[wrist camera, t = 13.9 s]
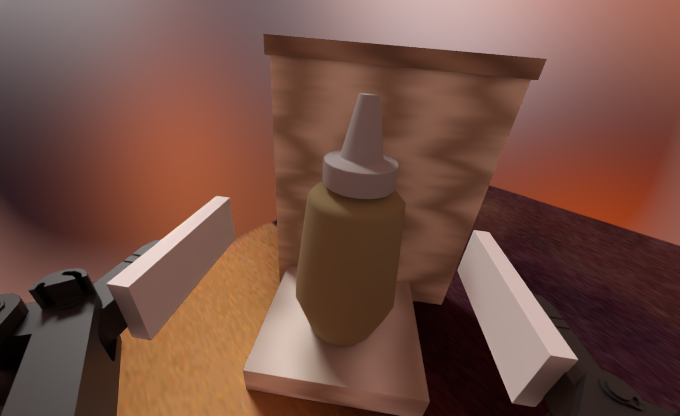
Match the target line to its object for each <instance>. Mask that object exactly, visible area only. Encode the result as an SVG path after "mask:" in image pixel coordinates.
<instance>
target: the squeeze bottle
mask: <svg viewBox="0 0 680 416" xmlns="http://www.w3.org/2000/svg"><path fill="white" fill-rule="evenodd" d="M398 169H399V164H398V163H397V162H396V161H395V160H394V159H393V158H391V157H389V156H387V155H385V154H383V135H382V115H381V96H380V95H375V94H366V93H360V94H359V96H358V99H357V102H356V105H355V109H354V112H353V115H352V118H351V121H350V125H349V128H348V131H347V134H346V138H345V141H344V144H343V147H342V150H335V151H332V152H329V153H328V154H327V155H326V156H325V157H324V160H323V181H322V182H320V183H318V184H317V185H315V186H314V187H313V188H312V189H311V190H310V191H309V193H308V196H307V203H306V211H305V218H304V226H303V233H302V240H301V248H300V255H299V263H298V270H297V277H296V298H297V300H298V302H299V304H300V306H301V308H302V310H303V312H304V314H305V316H306V318H307V320H308V322H309V324H310V326H311V328H312V330H313V332H314V333H315V334H316V335H317V336H318V337H319V338H321V339H322V340H323V341H324V342H326V343H329V344H332V345H336V346H339V347H343V346H354V345H356V344H358V343H360V342H362V341H364V340H366V339H367V338H368V337H369V336H370V335H371V334H372V332H373V331H374V330H375V329H376V328H377V327H378V326H379V325H380V324H381V323H382V322H383V321H384V319H385V318H386V317H387V315H388V314H389V312H390V311H391V310H392V308H393V307H394V299H395V290H396V282H397V274H398V266H399V257H400V249H401V241H402V232H403V224H404V216H405V205H406V203H405V202H404V200H403V199H402V198H401V196H400V195H399V194H398V193H397V192H396V191H395V184H396V179H397V174H398Z"/></svg>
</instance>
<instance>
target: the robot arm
mask: <svg viewBox="0 0 680 416" xmlns="http://www.w3.org/2000/svg"><path fill="white" fill-rule="evenodd" d="M234 240H235V232H234V225H233V217H232V210H231V203H230V198H228V197H220V196H216V197H215V198H213V199H212V200H211V201H210V202H209V203H207V204H206V205H205V206H203V207H202V208H201V209H199V211H197V212H196V213H194V214H193V215H192V216H191V217H189V218H188V219H187V220H186V221H184V222H183V223H182V224H181V225H179V226H178V227H177V228H176V229H174V230H173V231H172V232H171V233H169V234H168V235H167V236H166V237H164V238H163V239H162V240H155V241H153V242H151V243H149V244H146V245H144V246H143V247H141V248H140V249H139V250H137V251H136V252H135V253H133V255H131V256H129V257H128V258H127V259H125V260H124V262H121V263H120V264H119V265H118V266H116V267H115V268H114V269H112V270H111V271H110V272H108V273H107V274H106V275H104V276H103V277H102V278H101V279H99V280H98V281H96V282H95V283H94V284H93V283H92V281H91V279H90V278H89V276H88V274H87V272H86V271H84V270H82V269H75V268H73V269H66V270H62V271H59V272H56V273H52V274H50V275H48V276H46V277H44V278H42V279H41V280H39V281H38V282H37V283H35V284H33V286H32V287H31V288H30V289H29V292H30V293H31V295H32V296H33V298H34V299H35V301H36V302H37V303H29V304H25V303H24V302H23V300H22V299H21V298H20V296H19V295H16V294H1V295H0V416H117V403H118V389H119V374H120V360H121V345H122V340H121V337H120V334H121V333H122V332H123V331H124V330H125V329H126V328H127V327H128V329H129V331H130V333H131V335H132V337H135V338H141V339H147V340H152V339H153V338H154V336H155V335H156V334H157V333H158V332H159V330H160V329H161V328H162V327H163V326H164V324H165V323H166V322H167V321H168V319H169V318H170V317H171V316H172V315H173V313H174V312H175V311H176V310H177V309H178V307H179V306H180V305H181V304H182V303H183V301H184V300H185V299H186V298H187V297H188V295H189V294H190V293H191V292H192V290H193V289H194V288H195V287H196V286H197V284H198V283H199V282H200V281H201V280H202V278H203V277H204V276H205V275H206V274H207V272H208V271H209V270H210V269H211V268H212V266H213V265H214V264H215V263H216V261H217V260H218V259H219V258H220V257H221V255H222V254H223V253H224V252H225V251H226V249H227V248H228V247H229V246H230V245H231V243H232V242H233V241H234ZM458 273H459V275H460V278H461V280H462V283H463V285H464V288H465V290H466V292H467V295H468V297H469V300H470V302H471V305H472V307H473V309H474V312H475V314H476V317H477V319H478V322H479V324H480V326H481V329H482V331H483V334H484V336H485V339H486V341H487V344H488V346H489V348H490V351H491V353H492V356H493V358H494V361H495V363H496V365H497V368H498V370H499V373H500V375H501V378H502V380H503V382H504V385H505V387H506V390H507V392H508V395H509V397H510V399H511V402H512V403H514V404H520V405H525V406H531V407H536V406H537V405H538V404H539V403H540V401H541V400H542V399H543V398H544V399H545V401H546V403H547V405H548V407H549V409H550V411H549V412H548V413H547V414H546V415H545V416H680V411H678V412H677V413H672V412H670V411H668V410H665V409H663V408H660V407H658V406H656V405H653V404H651V403H649V402H646V401H644V400H642V399H641V397H640V396H639V394H638V393H637V392H636V391H635V390H634V389H632V388H631V387H630V386H629V385H628V384H627V383H626V382H624V381H623V380H621V379H620V378H618V377H617V376H615V375H613V374H611V373H609V372H607V371H604V370H601V369H600V367H599V366H598V365H597V363H596V362H595V361H594V359H593V358H592V357H591V355H590V354H589V353H588V351H587V350H586V349H585V347H584V346H583V345H582V343H581V342H580V341H579V339H578V338H577V337H576V335H575V334H574V333H573V331H571V330H570V328H569V326H568V325H567V324H566V322H565V321H563V320H562V317H561V316H560V314H559V313H558V312H557V310H556V309H555V308H554V306H553V305H551V304H550V303H549V302H548V301H547V300H545V299H544V298H543V297H542V296H541V295H534V294H532V293H531V292H530V290H529V289H528V287H527V286H526V284H525V283H524V282H523V280H522V279H521V277H520V276H519V274H518V273H517V272H516V270H515V269H514V267H513V266H512V264H511V263H510V262H509V260H508V259H507V257H506V256H505V254H504V253H503V252H502V250H501V249H500V247H499V246H498V244H497V243H496V242H495V240H494V239H493V237H492V236H491V234H490V233H489V232H483V231H476V230H474V231H473V233H472V236H471V238H470V241H469V243H468V246H467V248H466V251H465V253H464V256H463V258H462V261H461V263H460V266H459V268H458Z"/></svg>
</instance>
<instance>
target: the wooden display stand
mask: <svg viewBox="0 0 680 416" xmlns="http://www.w3.org/2000/svg"><path fill="white" fill-rule="evenodd" d="M264 51H265V54H266V55H270V60H271V85H272V106H273V107H272V109H273V131H274V155H275V178H276V202H277V227H278V250H279V274H280V281H281V283H280V286H279V288H278V290H277V293H276V295H275V297H274V300H273V302H272V304H271V307H270V309H269V311H268V313H267V316H266V318H265V320H264V323H263V325H262V327H261V330H260V332H259V334H258V337H257V339H256V341H255V344H254V346H253V348H252V351H251V353H250V355H249V358H248V360H247V362H246V365H245V367H244V369H243V373H244V379H245V384H246V389H249V390H254V391H260V392H266V393H272V394H278V395H283V396H289V397H295V398H301V399H306V400H312V401H318V402H324V403H330V404H335V405H341V406H347V407H353V408H359V409H364V410H370V411H376V412H382V413H388V414H393V415H399V416H423V414H424V412H425V410H426V408H427V406H428V404H429V402H430V400H429V394H428V389H427V383H426V377H425V371H424V365H423V359H422V354H421V348H420V342H419V336H418V330H417V324H416V319H415V313H414V307H413V301H418V302H425V303H432V304H439V305H442V302H443V300H444V297H445V295H446V292H447V290H448V287H449V285H450V282H451V280H452V277H453V275H454V272H455V270H456V267H457V265H458V262H459V259H460V257H461V254H462V252H463V249H464V247H465V244H466V242H467V239H468V237H469V234H470V232H471V229H472V227H473V224H474V222H475V219H476V217H477V214H478V212H479V209H480V207H481V204H482V202H483V199H484V197H485V194H486V191H487V189H488V186H489V184H490V181H491V179H492V176H493V174H494V171H495V169H496V166H497V164H498V161H499V159H500V156H501V154H502V151H503V148H504V146H505V144H506V141H507V138H508V136H509V133H510V131H511V128H512V126H513V123H514V121H515V118H516V116H517V113H518V111H519V108H520V105H521V103H522V101H523V98H524V96H525V93H526V90H527V88H528V86H529V83H530V81H531V80H538V79H539V76H540V74H541V71H542V69H543V67H544V64H545V62H546V59H540V58H528V57H517V56H506V55H495V54H483V53H472V52H460V51H449V50H437V49H427V48H416V47H404V46H393V45H381V44H371V43H370V44H369V43H359V42H348V41H337V40H325V39H314V38H303V37H291V36H279V35H269V34H264ZM360 93H366V94H375V95H380V96H381V115H382V135H383V154H385V155H387V156H389V157H391V158H393V159H394V160H395V161H396V162H397V163H398V164H399V169H398V174H397V179H396V184H395V191H396V192H397V193H398V194H399V195H400V196H401V198H402V199H403V200H404V202H405V203H406V205H405V216H404V224H403V232H402V241H401V249H400V257H399V266H398V274H397V282H396V290H395V299H394V307H393V308H392V310H391V311H390V312H389V314H388V315H387V317H386V318H385V319H384V321H383V322H382V323H381V324H380V325H379V326H378V327H377V328H376V329H375V330H374V331H373V332H372V334H371V335H370V336H369V337H368V338H367V339H366V340H364V341H362V342H360V343H358V344H356V345H354V346H343V347H339V346H336V345H332V344H329V343H326V342H324V341H323V340H322V339H321V338H319V337H318V336H317V335H316V334H315V333H314V332H313V330H312V328H311V326H310V324H309V322H308V320H307V318H306V316H305V314H304V312H303V310H302V308H301V306H300V304H299V302H298V300H297V298H296V277H297V270H298V263H299V255H300V248H301V240H302V233H303V226H304V218H305V211H306V203H307V196H308V193H309V191H310V190H311V189H312V188H313V187H314V186H315V185H317V184H318V183H320V182H322V181H323V160H324V157H325V156H326V155H327V154H328V153H329V152H332V151H335V150H342V147H343V144H344V141H345V138H346V134H347V131H348V128H349V125H350V121H351V118H352V115H353V112H354V109H355V105H356V102H357V99H358V96H359V94H360Z"/></svg>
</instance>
